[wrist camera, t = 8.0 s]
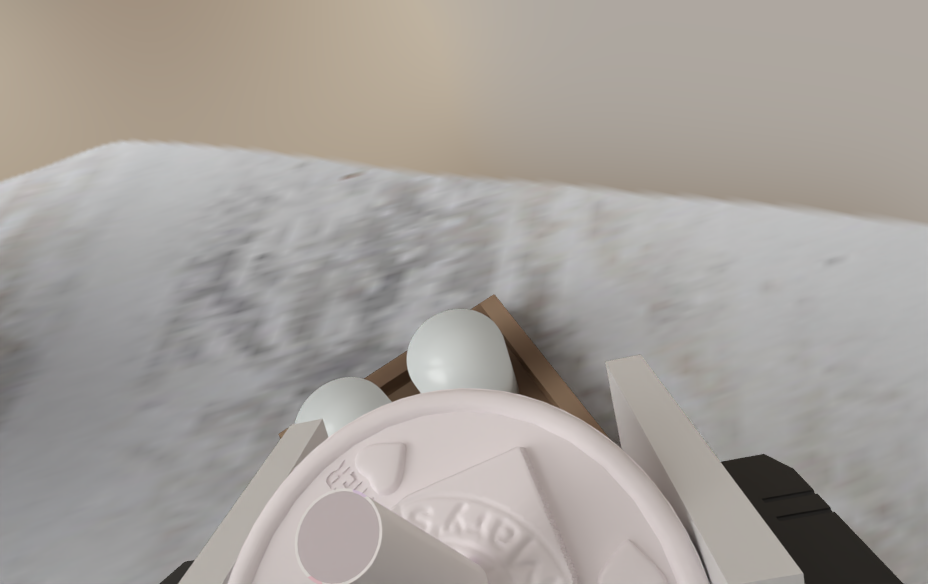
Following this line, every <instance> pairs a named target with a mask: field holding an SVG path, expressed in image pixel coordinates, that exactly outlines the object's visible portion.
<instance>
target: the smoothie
mask: <svg viewBox="0 0 928 584" xmlns="http://www.w3.org/2000/svg"><path fill="white" fill-rule="evenodd" d="M228 584H710V583H709V580H708V578H707V575H706V573H705V570H704V567H703V565H702V562H701V560H700V557H699V555H698V553H697V551H696V549H695V547H694V545H693V543H692V541H691V539H690V537H689V535H688V533H687V531H686V529H685V527H684V526H683V524H682V522H681V521H680V519H679V518H678V516H677V514H676V513H675V511H674V509H673V508H672V506H671V505H670V503H669V502H668V501H667V499H666V498H665V496H664V495H663V494H662V492H661V491H660V490H659V488H658V487H657V486H656V484H655V483H654V482H653V481H652V480H651V479H650V477H649V476H648V475H647V474H646V473H645V472H644V471H643V469H642V468H641V467H640V466H639V465H638V464H637V463H636V462H635V461H634V460H633V459H632V458H631V457H630V456H629V455H628V454H627V453H626V452H624V451H623V450H622V449H621V448H620V447H619V446H618V445H616V444H615V443H614V442H613V441H611V440H610V439H609V438H608V437H606V436H605V435H604V434H603V433H601V432H600V431H598V430H597V429H595V428H594V427H592V426H591V425H589V424H587V423H586V422H584V421H583V420H581V419H579V418H577V417H575V416H574V415H572V414H570V413H568V412H566V411H564V410H562V409H560V408H557V407H555V406H552V405H550V404H548V403H545V402H543V401H540V400H536V399H533V398H530V397H527V396H524V395H519V394H515V393H510V392H505V391H499V390H490V389H476V388H458V389H446V390H437V391H432V392H426V393H420V394H417V395H413V396H409V397H406V398H402V399H399V400H396V401H394V402H391V403H388V404H386V405H383V406H381V407H379V408H376V409H374V410H372V411H370V412H368V413H366V414H364V415H362V416H360V417H359V418H357V419H355V420H354V421H352V422H350V423H348V424H347V425H345V426H344V427H342V428H341V429H339V430H338V431H337V432H335V433H334V434H332V435H331V436H330V437H328V438H327V439H326V440H325V441H323V442H322V443H321V444H320V445H319V446H317V447H316V448H315V449H314V450H313V451H312V452H310V453H309V454H308V455H307V456H306V457H305V458H304V459H303V460H302V461H301V462H300V463H299V464H298V465H297V466H296V467H295V469H294V470H293V471H292V472H291V473H290V474H289V476H288V477H287V478H286V479H285V480H284V481H283V483H282V484H281V485H280V486H279V488H278V489H277V490H276V492H275V493H274V494H273V496H272V497H271V499H270V500H269V501H268V503H267V504H266V506H265V507H264V509H263V510H262V512H261V514H260V515H259V517H258V519H257V520H256V522H255V523H254V525H253V527H252V529H251V531H250V533H249V535H248V537H247V539H246V540H245V542H244V544H243V546H242V548H241V551H240V553H239V555H238V558H237V560H236V562H235V565H234V567H233V570H232V572H231V575H230V578H229V581H228Z"/></svg>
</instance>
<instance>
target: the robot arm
mask: <svg viewBox="0 0 928 584" xmlns="http://www.w3.org/2000/svg"><path fill="white" fill-rule="evenodd" d="M605 363H606V369H607V374H608V379H609V385H610V390H611V395H612V401H613V406H614V411H615V417H616V422H617V428H618V433H619V438H620V444H621V449H622V450H623V451H624V452H626V453H627V454H628V455H629V456H630V457H631V458H632V459H633V460H634V461H635V462H636V463H637V464H638V465H639V466H640V467H641V468H642V469H643V471H644V472H645V473H646V474H647V475H648V476H649V477H650V479H651V480H652V481H653V482H654V483H655V484H656V486H657V487H658V488H659V490H660V491H661V492H662V494H663V495H664V496H665V498H666V499H667V501H668V502H669V503H670V505H671V506H672V508H673V509H674V511H675V513H676V514H677V516H678V518H679V519H680V521H681V522H682V524H683V526H684V527H685V529H686V531H687V533H688V535H689V537H690V539H691V541H692V543H693V545H694V547H695V549H696V551H697V553H698V555H699V557H700V560H701V562H702V565H703V567H704V570H705V573H706V575H707V578H708V580H709V583H710V584H903V583H902V582H901V581H900V580H899V579H898V578H897V577H896V576H895V575H894V574H893V572H892V571H891V570H890V569H889V568H888V567H887V566H886V565H885V564H884V563H883V562H882V561H881V560H880V559H879V558H878V557H877V556H876V555H875V554H874V553H873V552H872V550H871V549H870V548H869V547H868V546H867V545H866V544H865V543H864V542H863V541H862V540H861V539H860V538H859V537H858V536H857V535H856V534H855V533H854V532H853V531H852V530H851V529H850V527H849V526H848V525H847V524H846V523H845V522H844V521H843V520H842V519H841V518H840V517H839V516H838V515H837V514H836V513H835V512H832V511H831V508H830V507H829V506H828V504H827V503H826V502H825V501H824V500H823V499H822V498H821V497H820V496H819V495H818V494H815V493H814V490H813V489H812V488H811V487H810V486H809V485H808V484H807V483H806V481H805V480H804V479H803V478H802V477H801V476H800V475H799V474H798V473H797V472H796V471H795V470H794V469H793V468H791V467H789V466H787V465H785V464H783V463H781V462H779V461H777V460H775V459H773V458H771V457H769V456H767V455H765V454H761V455H756V456H751V457H745V458H740V459H734V460H729V461H723V462H720V461H719V459H718V458H717V457H716V455H715V454H714V453H713V451H712V450H711V449H710V447H709V446H708V445H707V443H706V442H705V441H704V439H703V438H702V437H701V435H700V434H699V432H698V431H697V430H696V428H695V427H694V426H693V424H692V423H691V422H690V420H689V419H688V418H687V416H686V415H685V414H684V412H683V411H682V410H681V408H680V407H679V406H678V404H677V403H676V402H675V400H674V399H673V398H672V396H671V395H670V393H669V392H668V391H667V389H666V388H665V387H664V385H663V384H662V383H661V381H660V380H659V379H658V377H657V376H656V375H655V373H654V372H653V371H652V369H651V368H650V367H649V365H648V364H647V363H646V361H645V360H644V359H643V357H642V356H641V355H635V356H630V357H625V358H620V359H615V360H610V361H605ZM327 438H328V434H327V431H326V428H325V425H324V422H323V419H318V420H313V421H308V422H303V423H298V424H293V425H290V427H289V428H288V430H287V431H286V432H285V434H284V435H283V437H282V438H281V439H280V441H279V442H278V444H277V445H276V446H275V448H274V449H273V451H272V452H271V454H270V455H269V456H268V458H267V459H266V461H265V462H264V463H263V465H262V466H261V468H260V469H259V470H258V472H257V473H256V475H255V476H254V477H253V479H252V480H251V482H250V483H249V485H248V486H247V487H246V489H245V490H244V492H243V493H242V494H241V496H240V497H239V499H238V500H237V501H236V503H235V504H234V506H233V507H232V508H231V510H230V511H229V513H228V514H227V515H226V517H225V518H224V520H223V521H222V523H221V524H220V525H219V527H218V528H217V530H216V531H215V532H214V534H213V535H212V537H211V538H210V539H209V541H208V542H207V544H206V545H205V546H204V548H203V549H202V551H201V552H200V554H199V555H198V556H197V558H196V559H195V560H193V561H187V562H184V563H183V564H182V565H181V566H179V567H178V568H177V569H176V570H175V571H174V572H173V573H171V574H170V575H169V576H168V577H167V578H166V579H164V580H163V581H162V582H161V583H160V584H228V581H229V578H230V575H231V572H232V570H233V567H234V565H235V562H236V560H237V558H238V555H239V553H240V551H241V548H242V546H243V544H244V542H245V540H246V539H247V537H248V535H249V533H250V531H251V529H252V527H253V525H254V523H255V522H256V520H257V519H258V517H259V515H260V514H261V512H262V510H263V509H264V507H265V506H266V504H267V503H268V501H269V500H270V499H271V497H272V496H273V494H274V493H275V492H276V490H277V489H278V488H279V486H280V485H281V484H282V483H283V481H284V480H285V479H286V478H287V477H288V476H289V474H290V473H291V472H292V471H293V470H294V469H295V467H296V466H297V465H298V464H299V463H300V462H301V461H302V460H303V459H304V458H305V457H306V456H307V455H308V454H309V453H310V452H312V451H313V450H314V449H315V448H316V447H317V446H319V445H320V444H321V443H322V442H323V441H325V440H326V439H327Z"/></svg>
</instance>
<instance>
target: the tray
mask: <svg viewBox="0 0 928 584" xmlns="http://www.w3.org/2000/svg"><path fill="white" fill-rule="evenodd" d="M471 310H474V311H477V312H480V313H482V314H484V315H485V316H487V317H488V318H490V319H491V320H492V321H493V322H494V323H495V324H496V325H497V326H498V328H499V329H500V331H501V333H502V335H503V337H504V341H505V344H506V347H507V351H508V354H509V357H510V360H511V364H512V367H513V370H514V374H515V377H516V380H517V384H518V387H519V395H524V396H527V397H530V398H533V399H536V400H540V401H543V402H545V403H548V404H550V405H552V406H555V407H557V408H560V409H562V410H564V411H566V412H568V413H570V414H572V415H574V416H575V417H577V418H579V419H581V420H583V421H584V422H586V423H587V424H589V425H591V426H592V427H594V428H595V429H597V430H598V431H600V432H601V433H603V434H604V435H605V436H606V437H608V436H607V435H606V433H605V432H604V431H603V430H602V428H601V427H600V426H599V425H598V423H597V422H596V421H595V420H594V418H593V417H592V416H591V415H590V413H589V412H588V411H587V410H586V408H585V407H584V406H583V405H582V403H581V402H580V401H579V400H578V398H577V397H576V396H575V395H574V393H573V392H572V391H571V390H570V388H569V387H568V386H567V385H566V383H565V382H564V381H563V380H562V378H561V377H560V376H559V375H558V373H557V372H556V371H555V370H554V368H553V367H552V366H551V365H550V363H549V362H548V361H547V360H546V358H545V357H544V356H543V355H542V353H541V352H540V351H539V350H538V348H537V347H536V346H535V345H534V343H533V342H532V341H531V340H530V338H529V337H528V336H527V335H526V333H525V332H524V331H523V330H522V328H521V327H520V326H519V325H518V323H517V322H516V321H515V320H514V318H513V317H512V316H511V315H510V313H509V312H508V311H507V309H506V308H505V307H504V306H503V304H502V303H501V302H500V301H499V299H498V298H497V297H496V296H495V294H494V295H492V296H491V297H489V298H487V299H486V300H484V301H483V302H481V303H480V304H478V305H477V306H475V307H474V308H472V309H471ZM407 351H408V350H407ZM407 351H406V352H404V353H403V354H401V355H400V356H398V357H397V358H395V359H393V360H392V361H390V362H389V363H387V364H386V365H384V366H383V367H381V368H380V369H378V370H376V371H375V372H373V373H372V374H370V375H369V376H367V377H366V378H364V379H366V380H368V381H370V382H372V383H374V384H375V385H376V386H378V387H379V388H380V389H381V390H382V391H383V392H384V393H385V395H386V396H387V397H388V398H389V399H390V400H391V402H394V401H396V400H399V399H402V398H406V397H409V396H413V395H417V394H420V393H421V392H420V391H419V390H418V389H417V387H416V386H415V384H414V383H413V382H412V380H411V378H410V375H409V372H408V368H407ZM287 430H288V428H287V429H285V430H284V431H282V432H281V433H279V437H280V439H281V438H282V437H283V435H284V434H285V432H286V431H287ZM608 438H609V437H608ZM609 439H610V438H609Z"/></svg>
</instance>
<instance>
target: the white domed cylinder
mask: <svg viewBox="0 0 928 584" xmlns="http://www.w3.org/2000/svg"><path fill="white" fill-rule="evenodd" d="M407 368H408V372H409V375H410V378H411V380H412V382H413V383H414V384H415V386H416V387H417V389H418V390H419V391H420V392H421V393H426V392H432V391H437V390H446V389H458V388H476V389H490V390H499V391H505V392H510V393H515V394H519V387H518V384H517V380H516V377H515V374H514V370H513V367H512V364H511V360H510V357H509V354H508V351H507V347H506V344H505V341H504V337H503V335H502V333H501V331H500V329H499V328H498V326H497V325H496V324H495V323H494V322H493V321H492V320H491V319H490V318H488V317H487V316H485V315H484V314H482V313H480V312H477V311H474V310H469V309H451V310H447V311H443V312H441V313H438V314H436V315H434V316H432V317H431V318H429V319H428V320H427V321H425V322H424V323H423V324H422V325H421V326H420V327H419V328H418V329H417V331H416V332H415V334H414V335H413V337H412V339H411V341H410V344H409V347H408V351H407Z"/></svg>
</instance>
